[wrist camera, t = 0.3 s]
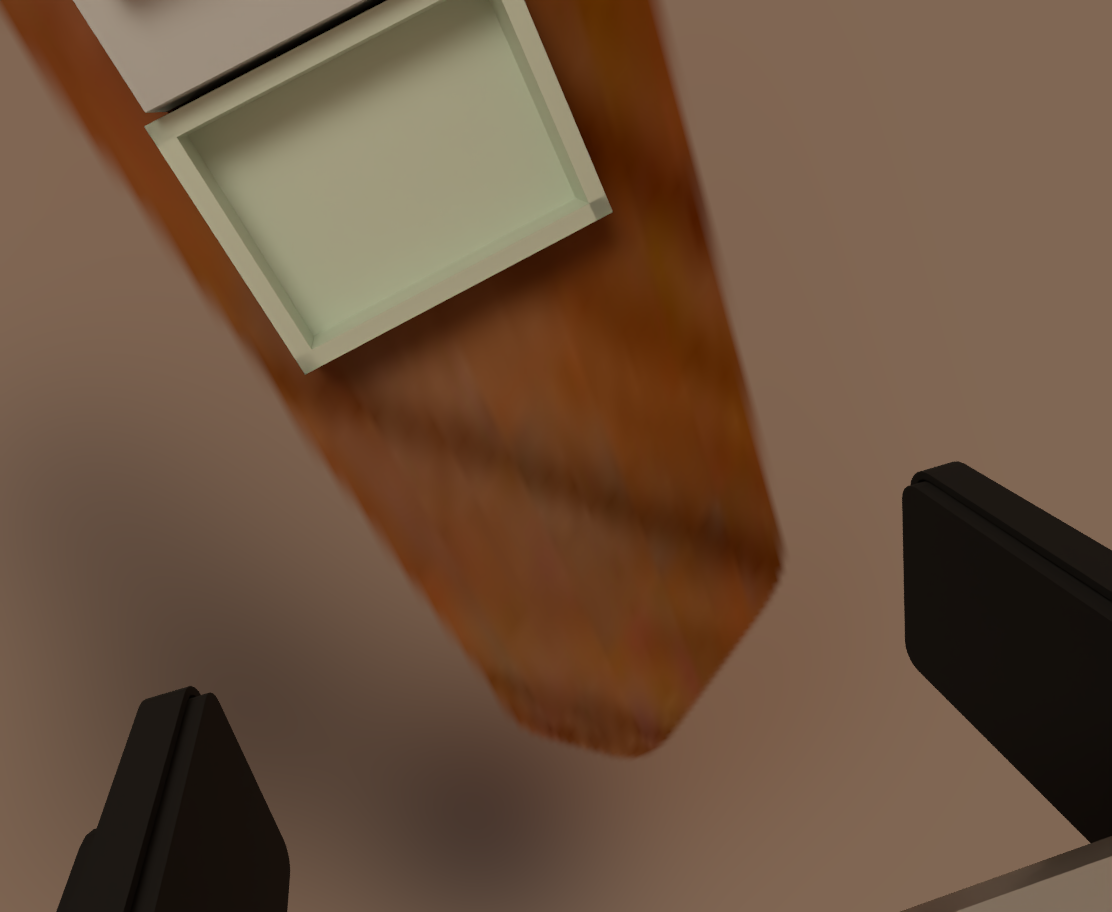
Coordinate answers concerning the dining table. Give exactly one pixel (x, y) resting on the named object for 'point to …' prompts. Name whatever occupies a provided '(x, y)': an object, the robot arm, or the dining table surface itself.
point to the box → (385, 167)
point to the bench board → (202, 39)
